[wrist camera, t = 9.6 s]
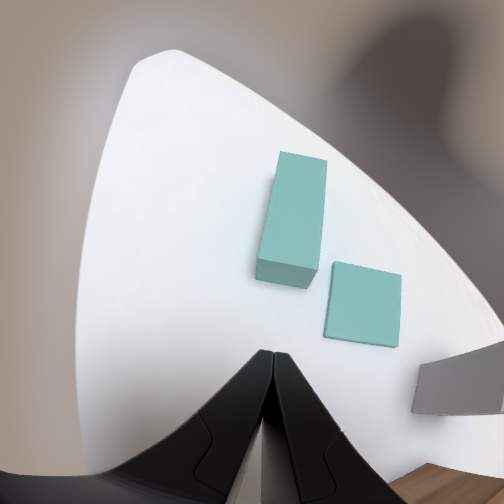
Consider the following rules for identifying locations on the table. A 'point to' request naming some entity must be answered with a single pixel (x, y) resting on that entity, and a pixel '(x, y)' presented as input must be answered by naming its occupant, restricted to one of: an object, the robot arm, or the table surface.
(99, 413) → the table surface
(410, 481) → the walnut pillar
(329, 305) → the teal colour card
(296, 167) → the teal pillar
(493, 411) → the grey pillar
